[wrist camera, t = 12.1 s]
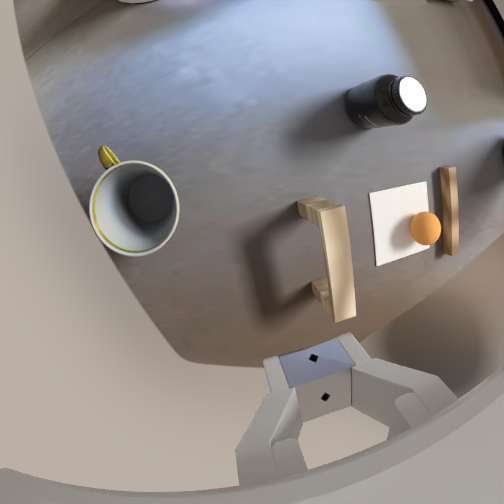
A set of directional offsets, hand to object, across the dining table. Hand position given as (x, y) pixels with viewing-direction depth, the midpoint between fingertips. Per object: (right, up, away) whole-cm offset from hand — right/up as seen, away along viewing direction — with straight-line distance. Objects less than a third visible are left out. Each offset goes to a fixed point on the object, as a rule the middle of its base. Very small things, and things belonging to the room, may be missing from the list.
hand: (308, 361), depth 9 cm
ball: (+26, +7, +31) cm, 41 cm away
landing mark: (+23, +8, +33) cm, 41 cm away
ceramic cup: (-16, +12, +27) cm, 34 cm away
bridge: (+7, +4, +33) cm, 34 cm away
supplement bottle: (+15, +25, +27) cm, 40 cm away
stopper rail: (+33, +11, +34) cm, 49 cm away
